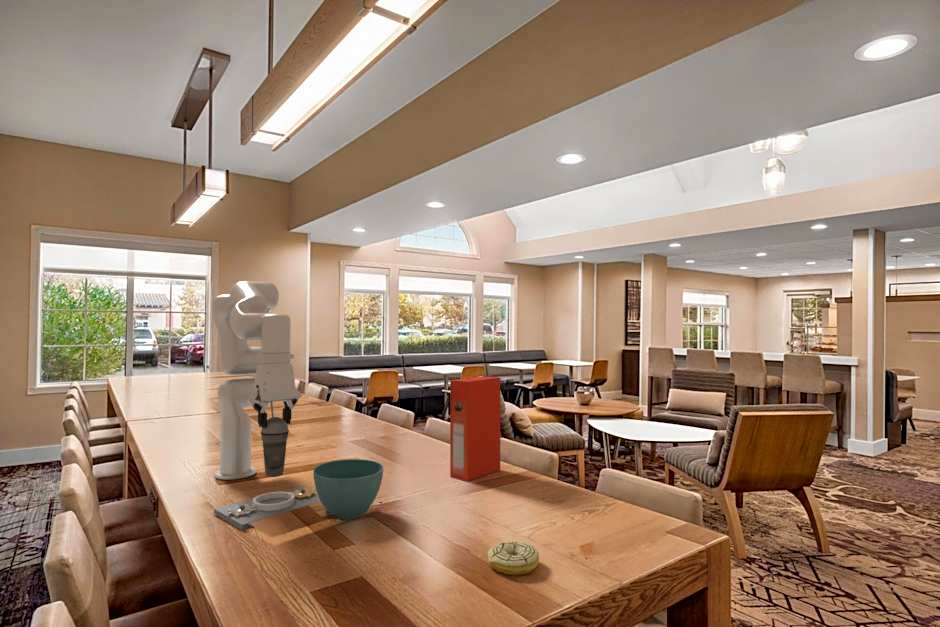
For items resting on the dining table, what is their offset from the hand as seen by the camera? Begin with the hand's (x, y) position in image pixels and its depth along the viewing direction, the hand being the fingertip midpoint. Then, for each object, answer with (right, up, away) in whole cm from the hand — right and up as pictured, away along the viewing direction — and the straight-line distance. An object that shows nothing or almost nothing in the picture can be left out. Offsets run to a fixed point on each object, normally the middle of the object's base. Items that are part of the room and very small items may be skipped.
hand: (274, 424), depth 143 cm
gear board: (0, -23, 0) cm, 23 cm away
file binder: (+55, -24, +34) cm, 69 cm away
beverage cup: (0, -14, 0) cm, 14 cm away
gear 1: (-6, -21, -7) cm, 23 cm away
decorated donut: (+63, -24, -32) cm, 74 cm away
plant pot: (+21, -23, -3) cm, 31 cm away
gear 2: (+6, -22, +6) cm, 23 cm away
